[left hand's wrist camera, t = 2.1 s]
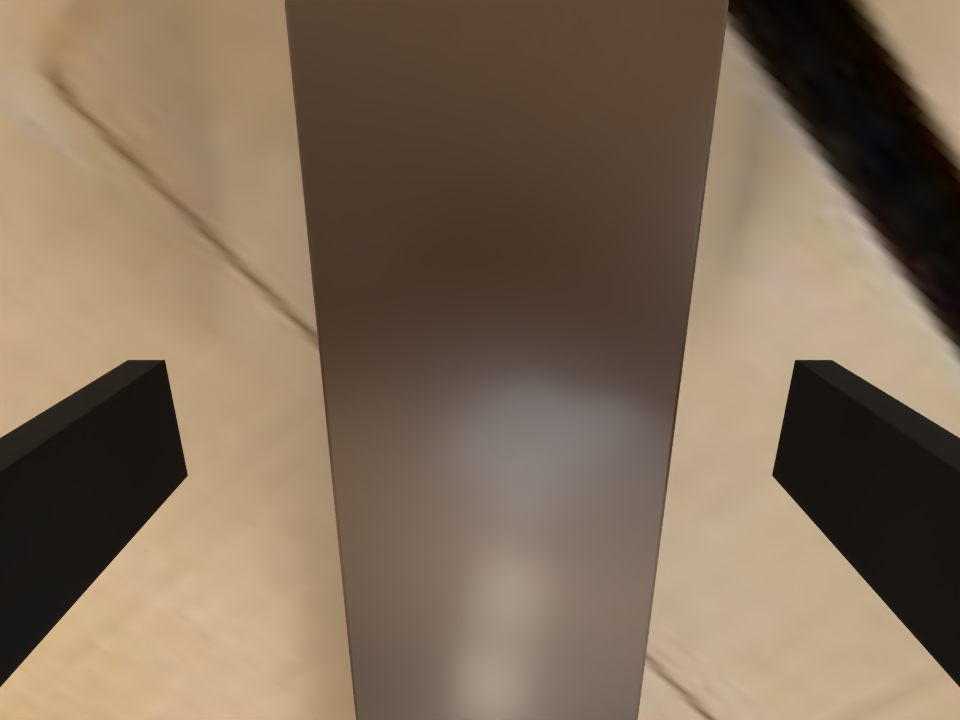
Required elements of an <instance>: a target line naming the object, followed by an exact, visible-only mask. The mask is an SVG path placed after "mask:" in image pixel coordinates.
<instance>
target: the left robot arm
mask: <svg viewBox="0 0 960 720" xmlns="http://www.w3.org/2000/svg"><path fill="white" fill-rule="evenodd" d="M187 476H188V474H187V469H186V464H185V459H184V454H183V449H182V444H181V439H180V434H179V429H178V424H177V419H176V414H175V409H174V404H173V399H172V394H171V389H170V384H169V379H168V374H167V369H166V364H165V360H128V361H126V362H124V363H123V364H121V365H119V366H118V367H116V368H114V369H113V370H111V371H110V372H108V373H106V374H105V375H103V376H101V377H100V378H98V379H96V380H95V381H93V382H92V383H90V384H88V385H87V386H85V387H83V388H82V389H80V390H78V391H77V392H75V393H74V394H72V395H70V396H69V397H67V398H65V399H64V400H62V401H60V402H59V403H57V404H56V405H54V406H52V407H51V408H49V409H47V410H46V411H44V412H42V413H41V414H39V415H37V416H36V417H34V418H33V419H31V420H29V421H28V422H26V423H24V424H23V425H21V426H19V427H18V428H16V429H15V430H13V431H11V432H10V433H8V434H6V435H5V436H3V437H1V438H0V687H1V686H2V685H3V683H4V682H5V681H6V680H7V679H8V678H9V677H10V676H11V674H12V673H13V672H14V671H15V670H16V669H17V668H18V667H19V665H20V664H21V663H22V662H23V661H24V660H25V659H26V658H27V656H28V655H29V654H30V653H31V652H32V651H33V650H34V648H35V647H36V646H37V645H38V644H39V643H40V642H41V641H42V639H43V638H44V637H45V636H46V635H47V634H48V633H49V632H50V630H51V629H52V628H53V627H54V626H55V625H56V624H57V623H58V621H59V620H60V619H61V618H62V617H63V616H64V615H65V613H66V612H67V611H68V610H69V609H70V608H71V607H72V606H73V604H74V603H75V602H76V601H77V600H78V599H79V598H80V597H81V595H82V594H83V593H84V592H85V591H86V590H87V589H88V588H89V586H90V585H91V584H92V583H93V582H94V581H95V580H96V578H97V577H98V576H99V575H100V574H101V573H102V572H103V571H104V569H105V568H106V567H107V566H108V565H109V564H110V563H111V562H112V560H113V559H114V558H115V557H116V556H117V555H118V554H119V553H120V551H121V550H122V549H123V548H124V547H125V546H126V545H127V543H128V542H129V541H130V540H131V539H132V538H133V537H134V536H135V534H136V533H137V532H138V531H139V530H140V529H141V528H142V527H143V525H144V524H145V523H146V522H147V521H148V520H149V519H150V518H151V516H152V515H153V514H154V513H155V512H156V511H157V510H158V508H159V507H160V506H161V505H162V504H163V503H164V502H165V501H166V499H167V498H168V497H169V496H170V495H171V494H172V493H173V492H174V490H175V489H176V488H177V487H178V486H179V485H180V484H181V483H182V481H183V480H184V479H185V478H186V477H187ZM772 476H773V477H774V478H775V479H776V480H777V481H778V483H779V484H780V485H781V486H782V487H783V488H784V489H785V490H786V492H787V493H788V494H789V495H790V496H791V497H792V498H793V499H794V501H795V502H796V503H797V504H798V505H799V506H800V507H801V508H802V510H803V511H804V512H805V513H806V514H807V515H808V516H809V518H810V519H811V520H812V521H813V522H814V523H815V524H816V525H817V527H818V528H819V529H820V530H821V531H822V532H823V533H824V534H825V536H826V537H827V538H828V539H829V540H830V541H831V542H832V543H833V545H834V546H835V547H836V548H837V549H838V550H839V551H840V553H841V554H842V555H843V556H844V557H845V558H846V559H847V560H848V562H849V563H850V564H851V565H852V566H853V567H854V568H855V569H856V571H857V572H858V573H859V574H860V575H861V576H862V577H863V578H864V580H865V581H866V582H867V583H868V584H869V585H870V586H871V588H872V589H873V590H874V591H875V592H876V593H877V594H878V595H879V597H880V598H881V599H882V600H883V601H884V602H885V603H886V604H887V606H888V607H889V608H890V609H891V610H892V611H893V612H894V613H895V615H896V616H897V617H898V618H899V619H900V620H901V621H902V623H903V624H904V625H905V626H906V627H907V628H908V629H909V630H910V632H911V633H912V634H913V635H914V636H915V637H916V638H917V639H918V641H919V642H920V643H921V644H922V645H923V646H924V647H925V648H926V650H927V651H928V652H929V653H930V654H931V655H932V656H933V658H934V659H935V660H936V661H937V662H938V663H939V664H940V665H941V667H942V668H943V669H944V670H945V671H946V672H947V673H948V674H949V676H950V677H951V678H952V679H953V680H954V681H955V682H956V683H957V685H958V686H959V687H960V438H959V437H957V436H955V435H954V434H952V433H950V432H949V431H947V430H945V429H944V428H942V427H941V426H939V425H937V424H936V423H934V422H932V421H931V420H929V419H927V418H926V417H924V416H923V415H921V414H919V413H918V412H916V411H914V410H913V409H911V408H909V407H908V406H906V405H904V404H903V403H901V402H900V401H898V400H896V399H895V398H893V397H891V396H890V395H888V394H886V393H885V392H883V391H882V390H880V389H878V388H877V387H875V386H873V385H872V384H870V383H868V382H867V381H865V380H864V379H862V378H860V377H859V376H857V375H855V374H854V373H852V372H850V371H849V370H847V369H845V368H844V367H842V366H841V365H839V364H837V363H836V362H834V361H832V360H795V364H794V369H793V374H792V379H791V384H790V389H789V394H788V399H787V404H786V409H785V414H784V419H783V424H782V429H781V434H780V439H779V444H778V449H777V454H776V459H775V464H774V469H773V474H772Z"/></svg>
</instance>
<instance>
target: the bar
mask: <svg viewBox="0 0 960 720" xmlns="http://www.w3.org/2000/svg"><path fill="white" fill-rule="evenodd" d="M728 4H729V1H728V0H285V12H286V22H287V32H288V42H289V52H290V62H291V72H292V82H293V92H294V102H295V112H296V123H297V133H298V143H299V153H300V163H301V173H302V183H303V193H304V203H305V213H306V223H307V233H308V243H309V253H310V263H311V273H312V283H313V293H314V303H315V313H316V323H317V333H318V343H319V353H320V363H321V373H322V383H323V393H324V403H325V413H326V423H327V433H328V443H329V453H330V463H331V473H332V483H333V493H334V503H335V513H336V523H337V533H338V543H339V553H340V563H341V573H342V583H343V593H344V603H345V613H346V623H347V634H348V644H349V654H350V664H351V674H352V684H353V694H354V704H355V714H356V720H638V712H639V704H640V697H641V689H642V681H643V673H644V665H645V657H646V649H647V642H648V634H649V626H650V618H651V610H652V602H653V594H654V586H655V579H656V571H657V563H658V555H659V547H660V539H661V531H662V523H663V516H664V508H665V500H666V492H667V484H668V476H669V468H670V460H671V453H672V445H673V437H674V429H675V421H676V413H677V405H678V397H679V390H680V382H681V374H682V366H683V358H684V350H685V342H686V334H687V327H688V319H689V311H690V303H691V295H692V287H693V279H694V271H695V264H696V256H697V248H698V240H699V232H700V224H701V216H702V208H703V201H704V193H705V185H706V177H707V169H708V161H709V153H710V145H711V138H712V130H713V122H714V114H715V106H716V98H717V90H718V82H719V75H720V67H721V59H722V51H723V43H724V35H725V27H726V19H727V12H728Z"/></svg>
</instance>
